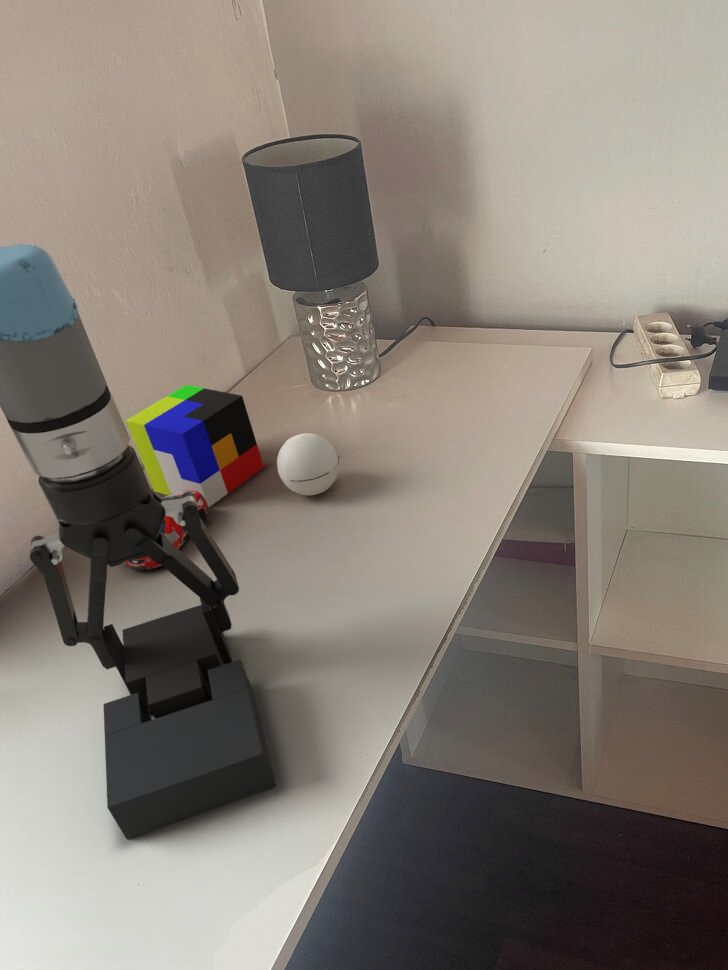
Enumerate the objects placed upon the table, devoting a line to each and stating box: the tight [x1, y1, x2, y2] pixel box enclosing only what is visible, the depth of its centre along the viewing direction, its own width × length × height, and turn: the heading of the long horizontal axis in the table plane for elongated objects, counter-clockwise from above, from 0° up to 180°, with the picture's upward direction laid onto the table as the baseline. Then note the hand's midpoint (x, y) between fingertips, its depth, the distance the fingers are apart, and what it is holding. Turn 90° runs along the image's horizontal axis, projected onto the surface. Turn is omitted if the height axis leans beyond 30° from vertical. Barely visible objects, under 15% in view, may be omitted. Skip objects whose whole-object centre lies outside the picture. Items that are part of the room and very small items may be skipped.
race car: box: [125, 490, 210, 571], centre depth 99 cm, size 13×5×4 cm, turn 162°
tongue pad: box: [121, 604, 224, 719], centre depth 79 cm, size 12×8×4 cm
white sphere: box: [276, 432, 362, 496], centre depth 102 cm, size 10×7×7 cm
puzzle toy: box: [125, 384, 265, 508], centre depth 108 cm, size 10×10×10 cm
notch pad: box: [103, 659, 277, 840], centre depth 72 cm, size 12×12×4 cm
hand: (181, 670), depth 81 cm, fingers closed on tongue pad, 8 cm apart
